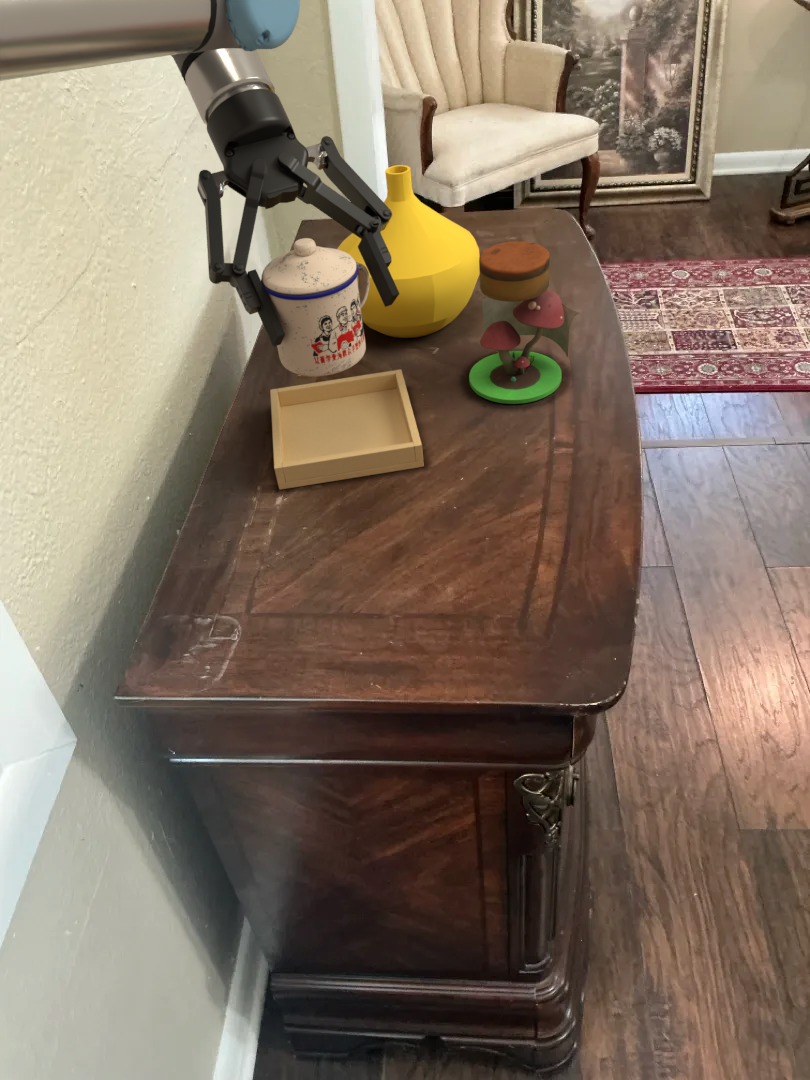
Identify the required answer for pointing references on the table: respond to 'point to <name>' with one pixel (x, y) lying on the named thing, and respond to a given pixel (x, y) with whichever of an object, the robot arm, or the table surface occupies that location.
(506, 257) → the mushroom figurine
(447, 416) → the table surface
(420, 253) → the vase
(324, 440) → the wooden tray
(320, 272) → the teacup with lid
